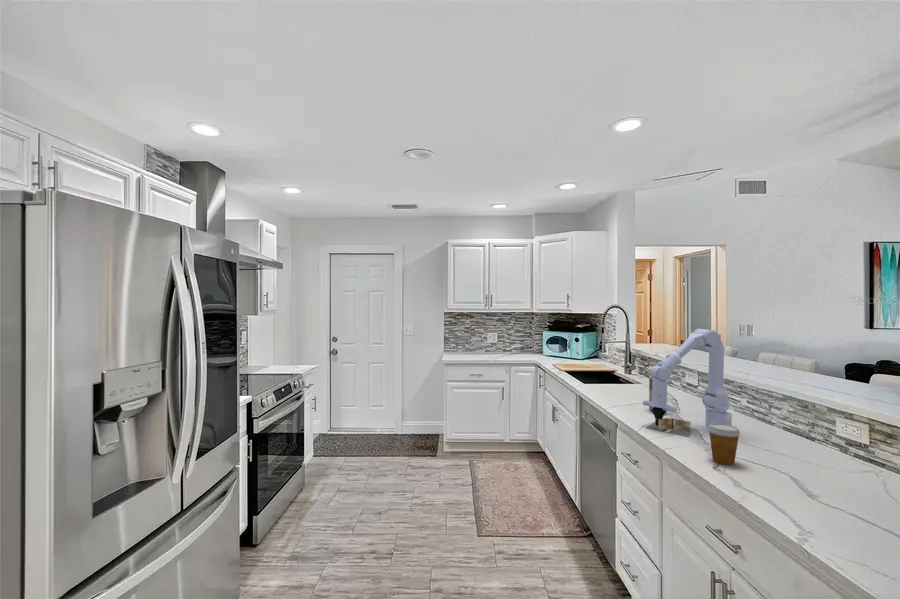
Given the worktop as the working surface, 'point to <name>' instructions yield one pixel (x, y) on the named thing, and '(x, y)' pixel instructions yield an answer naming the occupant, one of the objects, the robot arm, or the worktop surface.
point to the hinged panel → (666, 423)
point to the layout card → (672, 430)
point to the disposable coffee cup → (723, 442)
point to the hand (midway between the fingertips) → (658, 425)
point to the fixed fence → (682, 425)
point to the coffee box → (651, 394)
